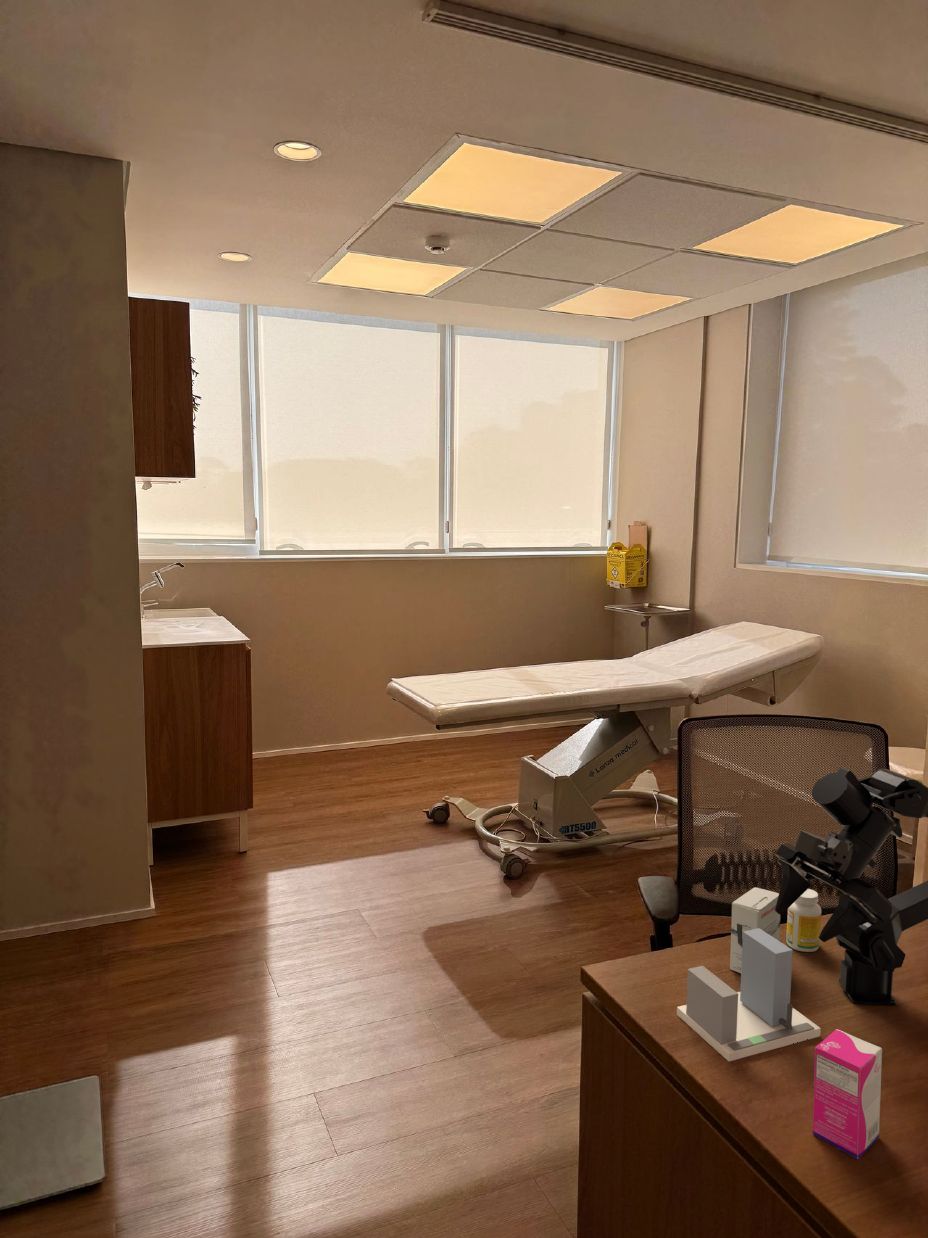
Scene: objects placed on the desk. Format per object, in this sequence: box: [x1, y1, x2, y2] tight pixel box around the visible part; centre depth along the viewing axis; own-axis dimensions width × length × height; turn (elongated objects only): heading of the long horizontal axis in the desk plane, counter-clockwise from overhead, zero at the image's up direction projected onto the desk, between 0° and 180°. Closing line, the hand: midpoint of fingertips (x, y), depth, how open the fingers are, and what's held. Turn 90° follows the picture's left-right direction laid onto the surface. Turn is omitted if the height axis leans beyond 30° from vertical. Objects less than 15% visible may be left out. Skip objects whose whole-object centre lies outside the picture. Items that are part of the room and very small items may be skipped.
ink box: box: [729, 887, 781, 974], centre depth 142 cm, size 9×5×12 cm, turn 136°
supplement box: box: [812, 1028, 883, 1160], centre depth 103 cm, size 6×6×12 cm
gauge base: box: [676, 965, 822, 1062], centre depth 126 cm, size 16×12×8 cm
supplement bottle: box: [785, 888, 822, 953], centre depth 149 cm, size 5×5×10 cm
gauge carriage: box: [739, 928, 794, 1030], centre depth 126 cm, size 3×9×11 cm, turn 21°
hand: (798, 926), depth 128 cm, fingers open, 9 cm apart
